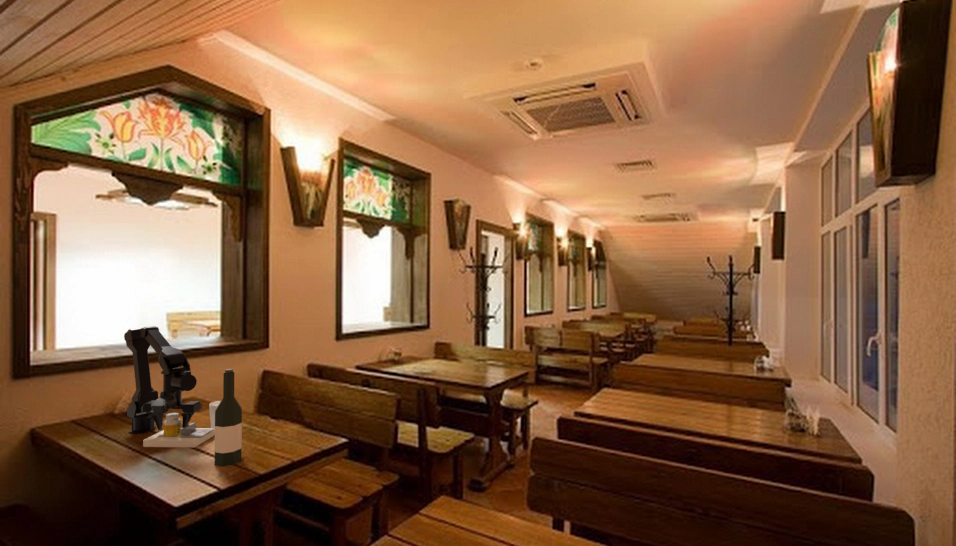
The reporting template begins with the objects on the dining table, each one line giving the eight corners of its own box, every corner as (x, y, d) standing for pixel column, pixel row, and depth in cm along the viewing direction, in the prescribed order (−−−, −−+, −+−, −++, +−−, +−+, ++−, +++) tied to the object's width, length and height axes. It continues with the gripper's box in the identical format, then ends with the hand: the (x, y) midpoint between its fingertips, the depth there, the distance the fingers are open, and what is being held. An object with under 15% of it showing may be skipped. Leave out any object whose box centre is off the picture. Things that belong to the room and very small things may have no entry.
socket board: (143, 446, 167) (143, 439, 167) (167, 434, 180) (167, 427, 180) (194, 447, 167) (194, 440, 167) (214, 434, 180) (215, 428, 180)
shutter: (180, 437, 170) (180, 428, 170) (193, 430, 178) (193, 422, 178) (201, 437, 170) (201, 429, 170) (213, 430, 178) (213, 422, 178)
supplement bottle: (164, 439, 175) (164, 413, 175) (181, 437, 177) (181, 411, 177) (162, 444, 170) (162, 417, 170) (179, 441, 173) (180, 415, 173)
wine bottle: (220, 456, 159) (221, 366, 159) (246, 456, 160) (247, 366, 160) (208, 466, 151) (209, 372, 151) (236, 466, 152) (236, 372, 152)
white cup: (235, 425, 191) (236, 400, 191) (223, 432, 184) (224, 406, 184) (217, 424, 192) (217, 399, 192) (204, 431, 184) (204, 405, 184)
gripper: (130, 392, 166) (130, 437, 166) (184, 393, 166) (183, 438, 166) (152, 384, 177) (152, 426, 177) (203, 385, 177) (202, 427, 177)
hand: (172, 430), depth 174 cm, fingers open, 8 cm apart
